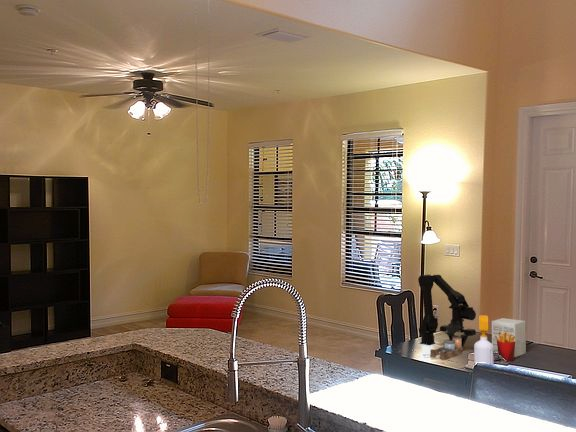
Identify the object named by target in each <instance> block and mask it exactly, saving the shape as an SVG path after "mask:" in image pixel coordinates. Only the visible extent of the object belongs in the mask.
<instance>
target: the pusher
mask: <svg viewBox="0 0 576 432" xmlns="http://www.w3.org/2000/svg"><path fill="white" fill-rule="evenodd" d="M443 347H444V346H441V347H439V348H440V351H444V352H445V353H447V352H450V351H452V349H449V348H443ZM439 354H440V352H439Z"/></svg>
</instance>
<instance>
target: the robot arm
mask: <svg viewBox="0 0 576 432" xmlns="http://www.w3.org/2000/svg"><path fill="white" fill-rule="evenodd" d="M417 280H418V286H419V288H420V289H421V292H422V301H423V311H424V316H423V317H422V318H423V319H422V320H421V321H422V322H421V326H420V327H419V328H418V333H419V334H420V336H421V337H420V339H421V341H420V342H419V344H423V345H427V346H431V345H434V344H436V342H435V336H434V335H435V334H436V332H437V329H438V328H439V332H441V333H442V332H443V333H444V334H446V336H448V340H452V335H455V334H456V333H462V334H460V335H461V337H462V347H463V348H464V347H465V344H466V342H467V340H468V338H469V337H472V336H475V335H477V331H476V329H474V328H465V326H464V322H465V320H468V321H474V320H475V319H476V315H477V313H476V311H475V309H474V307H473V306H472V307H471V306H470V305H469V304H468V302H467V300H466V299H465V296H464V294H462V293H461V292H459V291H457V290H455V289H453V288H452V286H451V285H450V284H449V283H448V282H447V281H446V280H445V279H444V278H443V277H442V275H441V274H433V275H431V274H421V275H419V277H418V278H417ZM434 284H435V285H436V286H437V287H438V288H439V289H440V290H441V291H442V292H443V293H444V294H445V295H446V296H447V300H448V301H449V303H450V305H449V307H448V309H451V319H450V323H448V324H444V325H440V327H438V326H439V322H438V321H439V319H438V317H435V315H434V307H433V306H434V305H433V295H432V289H433V287H434Z"/></svg>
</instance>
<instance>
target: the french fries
mask: <svg viewBox="0 0 576 432" xmlns="http://www.w3.org/2000/svg"><path fill="white" fill-rule="evenodd" d="M506 336H508V338H506ZM511 336H512V334H510V337H509V334H508V333H507V332H505V333H504V334H502V336H501V331H499V338H500V340H499V339H498V338H497V336H496V335H495V338H496V339H497V340H498V341H497V348H498V354H499V355H501V356H502V357H503V358H504V359H505V360H507V361H511V362H514V358H515V357H514V350H515V342H514V339H515V336H513V337H512V338H511ZM498 354H497V355H498Z"/></svg>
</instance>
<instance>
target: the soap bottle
mask: <svg viewBox="0 0 576 432" xmlns="http://www.w3.org/2000/svg"><path fill="white" fill-rule="evenodd" d="M478 318H479V319H478V320H479V321H478V323H479V324H478V326H479V327H478V329H479V330H478V331H479V332H480V333H481V335H479V338H480V339H479V340H478V341H476V342H475V343H474V345H473V349H474V350H473V354H474V355H473V357H474V358H473V359H474V360H473V363H476V362H487V363H494V355H495V354H493V344H492V342H490V341H489V340H488V335H486V334H487V333H488V332H489V316H488V315H484V314H483V315H482V314H481V315H479V316H478ZM494 364H495V363H494Z"/></svg>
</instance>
